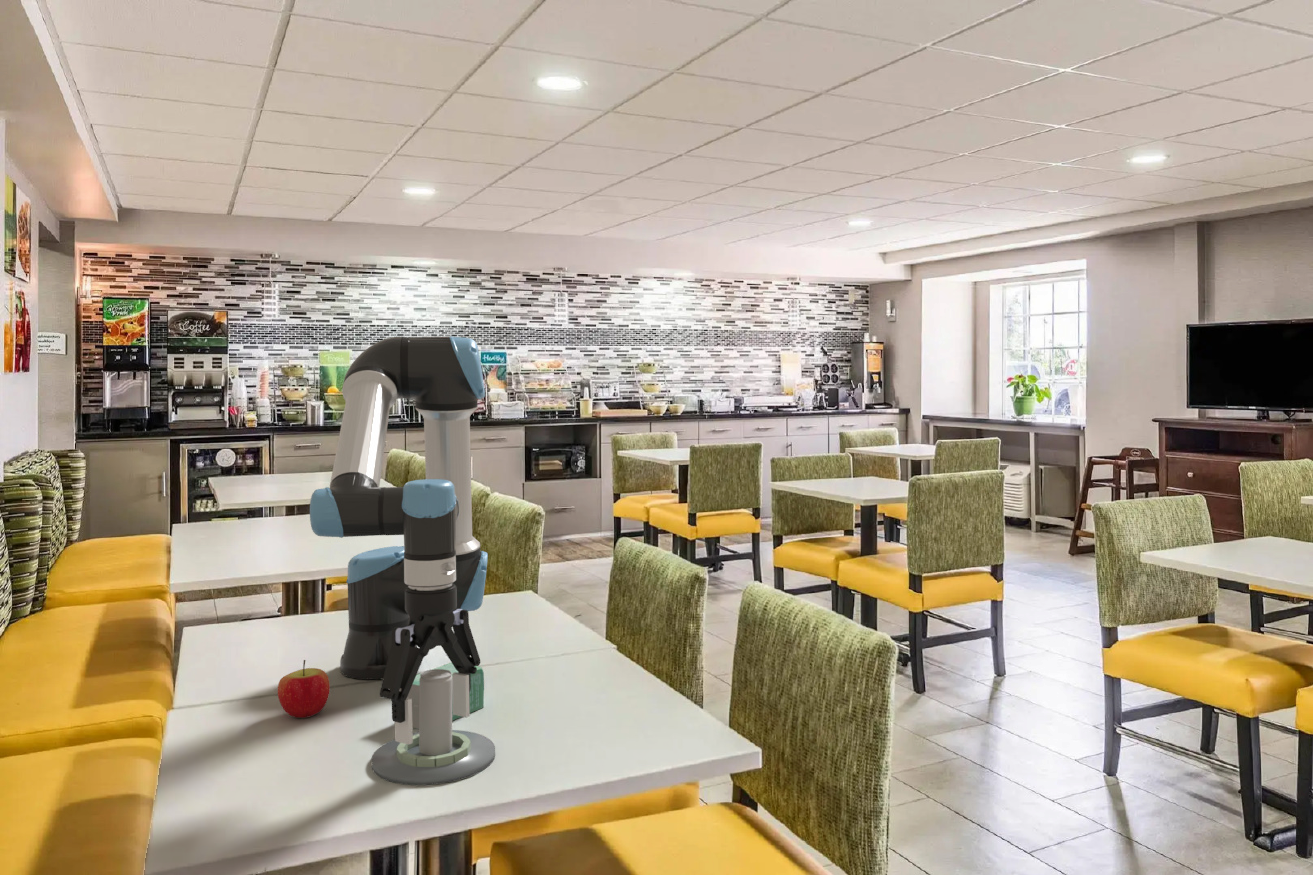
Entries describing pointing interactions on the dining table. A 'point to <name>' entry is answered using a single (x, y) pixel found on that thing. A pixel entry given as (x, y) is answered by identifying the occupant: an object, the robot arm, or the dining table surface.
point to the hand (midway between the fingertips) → (433, 728)
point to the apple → (304, 692)
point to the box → (474, 695)
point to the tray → (433, 760)
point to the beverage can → (435, 712)
